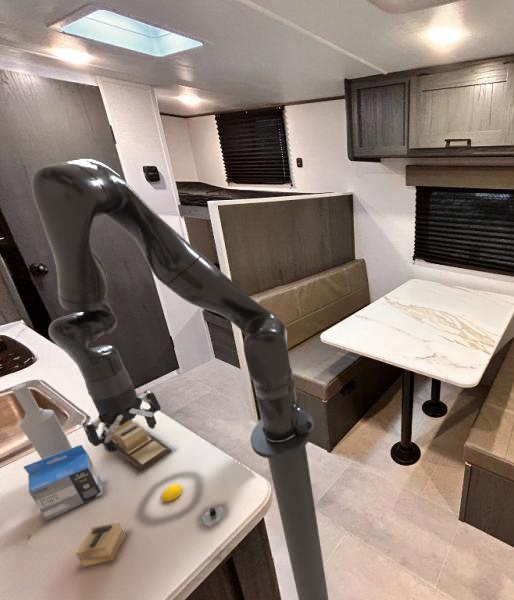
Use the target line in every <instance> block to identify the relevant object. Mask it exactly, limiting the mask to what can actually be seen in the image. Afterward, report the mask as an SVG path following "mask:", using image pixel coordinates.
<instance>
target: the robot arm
mask: <svg viewBox="0 0 514 600" xmlns="http://www.w3.org/2000/svg"><path fill="white" fill-rule="evenodd" d="M30 183H31V184H30V185H31V191H32V195H33V199H34V203H35V206H36V209H37V211H38V214H39V217H40V220H41V223H42V226H43V229H44V232H45V235H46V239H47V241H48V244H49V247H50V249H51V252H52V257H53V260H54V264H55V269H56V279H57V293H58V303H59V304H60V306H61V307H62V308H63V309H64V310H67V311H68V312H71V313H70V314H67V315H63V316H61V317H59V318H55V319H54V320H53V321H52V322H51V323H50V324H49V327H48V336H49V337H50V340H51V341H52V342H54V343H55V345H57V346H58V347H59V348H60V349H61V350H62V351H63V352H65V353H66V355H68V357H69V358H70V359H71V360H72V361H73V363H75V365H76V366H77V367H78V369H79V371H80V374H81V376H82V379H83V380H84V383H85V386H86V389H87V393H88V396H89V397H90V398H91V401H92V402H93V404H94V407H95V408H96V410H97V412H98V417H97V418H95V419H93V420H91V421H88V420H87V421H84V422H83V423H82V428H83V430H84V432H85V435H86V438H87V440H88V442H89V443H90V444H91V445H92V446H93V447H98V446H100V445H101V444H103V447H104V449H105V450H106V451H107V452H109V453H113V454H114V453H115V452H118V451H117V449H116V447H115V445H114V443H113V440H112V439H111V438H112V435H113V433H115V432H116V430H117V427H118V426H119V425H120V426H121V425H123V424H124V423H126V422H127V421H129V420H132V421H133V419H135V418H136V416H142V417H144V419H145V422H146V424H147V427H149V428H150V429H152V430H154V429H155V428H156V425H157V419H156V418H155V414H156V413H157V412H159V411H161V409H162V407H161V405H160V403H159V401H158V399H157V397H156V395H155V393H154V392H153V391H150V390H148V389H147V390H145V391H144V392H143V394H141V395H139V396H138V394H137V390H136V388H135V386H134V384H133V381H132V379H131V376H130V374H129V372H128V371H127V369H126V367H125V365H124V363H123V360H122V357H121V355H120V353H119V351H118V350H117V348H116V347H115V346H114V345H111V344H103V345H97V346H93V347H89V344H90V343H93V342H94V341H97V340H99V339H102V338H104V337H106V336H108V335H110V334H111V333H113V331H114V330H115V329H116V327H117V325H118V320H117V316H116V315H115V313H114V311H113V309H112V306H111V304H110V301H109V299H108V274H107V270H106V267H105V265H104V263H103V262H102V260H101V258H100V257H99V256H98V255H97V254H96V252H95V250H94V249H93V246H92V242H91V235H92V227H93V224H94V220H95V219H98V218H101V217H102V216H105V217H107V218H108V219H110V220H111V221H112V222H114V223H115V224H116V225H117V226H118V227H120V228H121V229H122V230H124V232H126V234H128V235H129V237H131V238H132V239H133V241H134V242H135V244H136V245H137V247H138V248H139V250H140V252H141V253H142V255H143V258H144V259H145V261H146V264H147V265H148V267H149V269H150V270H151V272H152V273H153V275H154V276H155V278H156V279H157V280H158V281H159V282H160V283H162V284H163V285H164V286H165V287H166V288H168V289H169V290H170V291H172V292H173V293H174V294H175V295H177V296H178V297H180V298H181V299H183V300H184V301H185V302H187V303H189V304H191V305H193V306H196V307H198V308H201V309H203V310H206V311H209V312H211V313H215V314H217V315H220V316H222V317H224V318H225V319H227V320H228V321H230V322H231V323H232V324H233V325H235V326H236V327H237V328H238V329H239V330H240V331H241V332H242V333H243V334H244V335H245V337H244V339H243V354H244V358H245V362H246V367H247V371H248V374H249V377H250V379H251V380H252V382H253V386H254V391H255V396H256V400H257V405H258V410H259V414H260V419H261V420H262V424H263V434H264V435H265V438H266V440H267V441H268V442H270V443H274V444H280V443H284V442H287V441H289V440H291V439H293V438H294V437H296V436H299V435H300V434H304V433H308V430H309V429H311V427H312V423H311V422H310V421H308V415H307V413H308V411H305V412H301V413H300V410H301V409H300V403H299V396H298V393H297V392H296V387H295V380H294V375H293V368H292V367H293V366H292V364H291V362H290V355H289V349H288V330H287V327H286V324H285V322H283V320H281V318H279V317H278V316H277V315H275V314H274V313H273V312H271V311H270V310H268V309H266V308H265V307H264V306H262V305H261V304H260V303H259V302H257V301H255V300H254V299H253V298H251V297H250V296H249V295H248V294H247V293H245V292H244V290H243V289H241V288H240V286H238V285H237V284H236V283H235V282H234V281H233V280H231V279H230V278H229V277H228V276H227V275H226V274H225V273H224V272H223V271H221V270H220V269H219V268H218V267H217V266H216V265H215V264H214V263H213V262H211V261H210V259H208V258H207V257H206V256H205V255H204V254H203V253H202V252H201V251H199V250H197V249H196V248H195V247H194V246H193V245H191V243H190V242H188V241H186V239H185V238H183V237H182V236H181V235H180V234H179V233H178V232H177V231H176V230H175V229H173V228H172V226H171V225H169V224H168V223H167V222H166V221H165V220H163V219H162V217H160V216H159V215H158V214H157V213H156V212H155V211H154V210H153V209H152V208H151V207H150V205H148V204H147V203H146V202H145V201H144V200H143V199H142V198H141V197H140V195H139V194H138V193H137V192H136V191H135V190H134V189H133V188H132V187H131V185H129V184H128V183H127V182H126V181H125V180H124V179H123V178H122V177H121V176H120V175H119V174H118V173H116V172H115V170H113V169H111V168H110V167H109V166H107V165H106V164H104V163H102V162H99V161H97V160H94V159H89V158H79V159H73V160H67V161H62V162H56V163H52V164H48V165H44V166H42V167H39V168H38V169H37V170H35V171H34V173H33V174H32V176H31V182H30ZM72 312H73V313H72ZM143 401H145V402H148V404H149V406H150V407H149V408H148V409H147V408H145V407H144V408H143V407H141V406H142V404H143ZM261 420H260V421H261ZM101 423H102V425H103V424H104V425H103V426H102V431H101V433H100V435H99V434H98V432H97V430H98V429H99V425H100V424H101ZM308 425H309V426H308Z"/></svg>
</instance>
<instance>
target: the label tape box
mask: <svg viewBox="0 0 514 600" xmlns="http://www.w3.org/2000/svg"><path fill="white" fill-rule="evenodd" d="M62 456H66V457H65V458H63V459H61V460H58V461H55V462H53V463H50V464H47V463H48V462H49V461H52V460H54V458H60V457H62ZM23 469H24V470H25V472H26V473H27V474H28V475H27V478H28V479H27V480H28V494H29V495H30V497H31V498H32V499H33V501H34V503H35V504H36V506H37V507H38V508H39V511H40V512H41V514H42V516H43V517H44V518H45V520H46V521H48V520H51V519H53V518H55V517H58V516H59V515H62V514H63V513H66V512H68V511H70V510H73V509H75V508H76V507H78V506H80V505H82V504H85V503H87V502H89V501H91V500H93V499H96V498H98V497H100V496H102V495H103V489H104V488H103V487H104V485H103V480H102V479H101V477H100V475H99V473H98V471H97V469H96V467H95V466H94V464H93V462H92V460H91V458H90V456H89V453H88V452H87V451H86V449H85V448H84V446H83V445H82V444H79V445H76V446H74V447H73V446H72V448H71V449H68V450H66V451H63V452H60V453H58V454H55V455H52V456H50V457H47V458H44V459H39V460H36V461H33V462H31V463H29V464H27V465H23Z"/></svg>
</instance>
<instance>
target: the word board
mask: <svg viewBox="0 0 514 600" xmlns="http://www.w3.org/2000/svg"><path fill="white" fill-rule="evenodd" d="M145 432H146V435H147V437H148V440H147V441H145V442H144V443H142V444H141V445H139V446H137V447H136V448H134V449H133V450H131V451H129V452H128V451H127V450H125V449H124V448H123V447H121V446H120V445H119V443H118V441H117V442H116V441H115V440H114V439H113V438H111V439H112V440H113V443H114V445H115V447H116V449H117V451H116V452H118V453H119V454H120V456H123V457H124V459H126V460H127V461H129V462H130V463H131V464H132V465H134V466H135V467H136V468H138V469H139V470H140V471H141V472H144V471H146V470H147V469H148V468H150V467H152V466H153V465H154V464H155V463H157V462H159V461H160V460H161V459H163V458H164V457H166V456H167V455H168V454H170V453H172V448H171V447H170V446H168V445H167V444H165V443H163V442H162V441H161V440H159V439H158V438H156V437H155V436H153V435H152V434H150V433H149V432H147V431H146V430H145Z"/></svg>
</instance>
